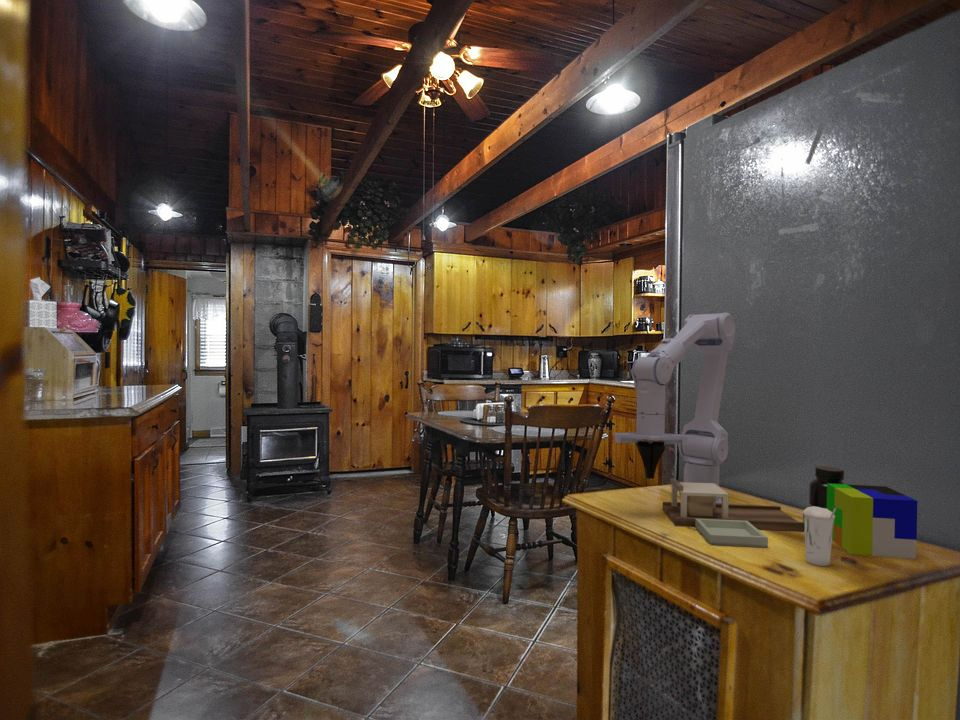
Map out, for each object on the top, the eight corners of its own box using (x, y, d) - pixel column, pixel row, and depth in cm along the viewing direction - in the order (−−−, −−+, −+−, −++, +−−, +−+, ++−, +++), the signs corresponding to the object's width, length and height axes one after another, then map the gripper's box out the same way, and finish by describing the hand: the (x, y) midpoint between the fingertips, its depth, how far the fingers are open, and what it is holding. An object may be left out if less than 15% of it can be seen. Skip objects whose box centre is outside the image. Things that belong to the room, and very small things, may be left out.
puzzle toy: (916, 559, 92) (917, 500, 92) (850, 554, 94) (851, 497, 94) (885, 539, 102) (886, 486, 102) (826, 535, 104) (827, 483, 104)
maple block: (684, 509, 117) (685, 489, 116) (706, 510, 116) (706, 489, 116) (690, 515, 112) (690, 494, 112) (712, 516, 112) (712, 495, 112)
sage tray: (695, 527, 108) (695, 518, 108) (747, 529, 107) (747, 520, 107) (710, 544, 98) (710, 535, 98) (767, 547, 97) (767, 537, 97)
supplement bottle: (803, 528, 108) (804, 468, 108) (812, 520, 113) (813, 463, 113) (844, 536, 103) (845, 473, 103) (852, 528, 108) (853, 468, 108)
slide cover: (668, 505, 119) (669, 477, 119) (714, 506, 118) (714, 478, 118) (679, 517, 110) (679, 487, 110) (728, 519, 109) (728, 489, 109)
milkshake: (823, 571, 87) (824, 508, 86) (795, 559, 92) (796, 499, 92) (845, 568, 88) (846, 506, 88) (816, 556, 93) (817, 498, 93)
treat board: (662, 508, 121) (662, 501, 121) (779, 513, 118) (779, 506, 118) (675, 525, 109) (675, 517, 109) (805, 531, 106) (805, 523, 106)
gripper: (618, 414, 112) (617, 480, 112) (691, 416, 110) (690, 483, 110) (613, 411, 119) (612, 473, 119) (682, 412, 117) (681, 475, 117)
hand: (649, 477), depth 115 cm, fingers closed
